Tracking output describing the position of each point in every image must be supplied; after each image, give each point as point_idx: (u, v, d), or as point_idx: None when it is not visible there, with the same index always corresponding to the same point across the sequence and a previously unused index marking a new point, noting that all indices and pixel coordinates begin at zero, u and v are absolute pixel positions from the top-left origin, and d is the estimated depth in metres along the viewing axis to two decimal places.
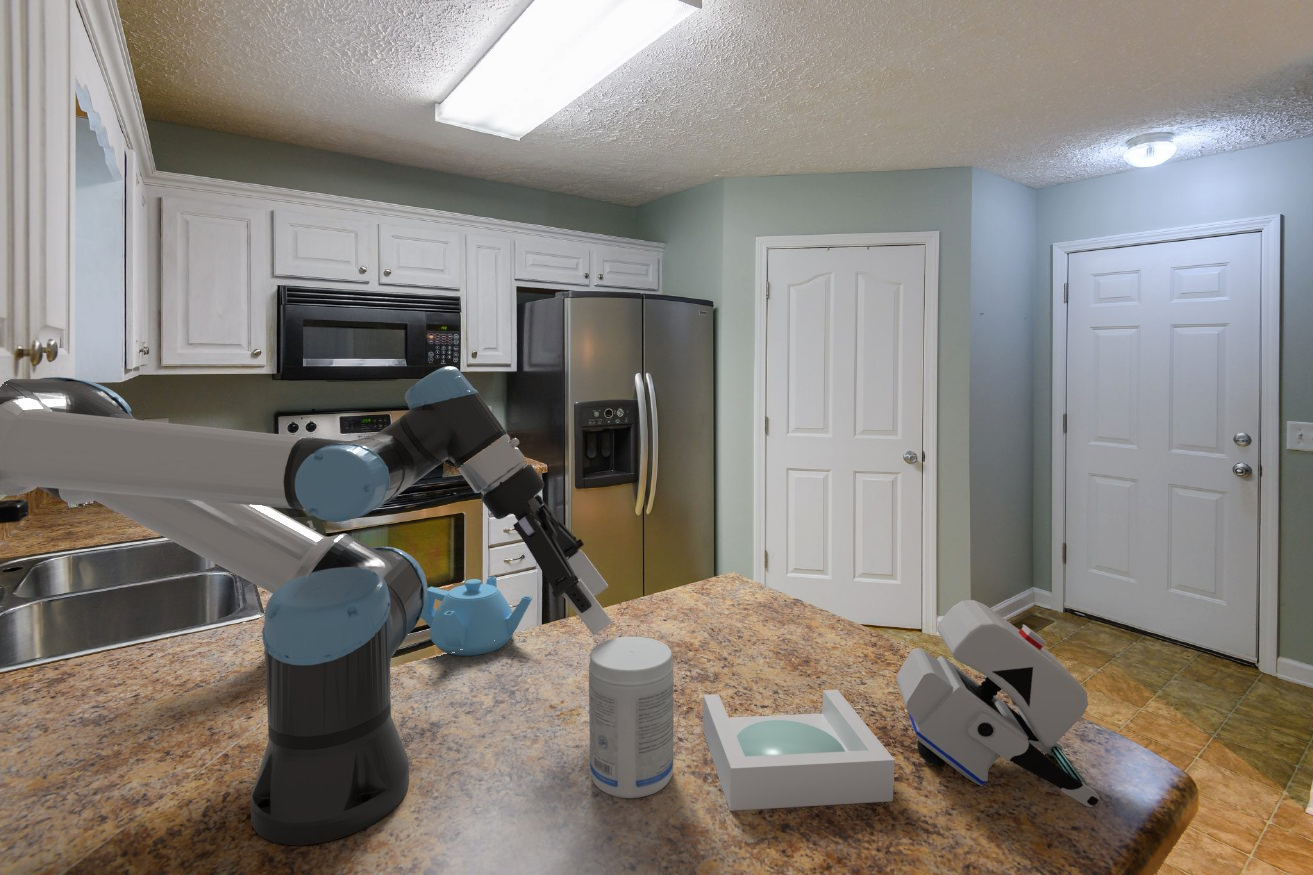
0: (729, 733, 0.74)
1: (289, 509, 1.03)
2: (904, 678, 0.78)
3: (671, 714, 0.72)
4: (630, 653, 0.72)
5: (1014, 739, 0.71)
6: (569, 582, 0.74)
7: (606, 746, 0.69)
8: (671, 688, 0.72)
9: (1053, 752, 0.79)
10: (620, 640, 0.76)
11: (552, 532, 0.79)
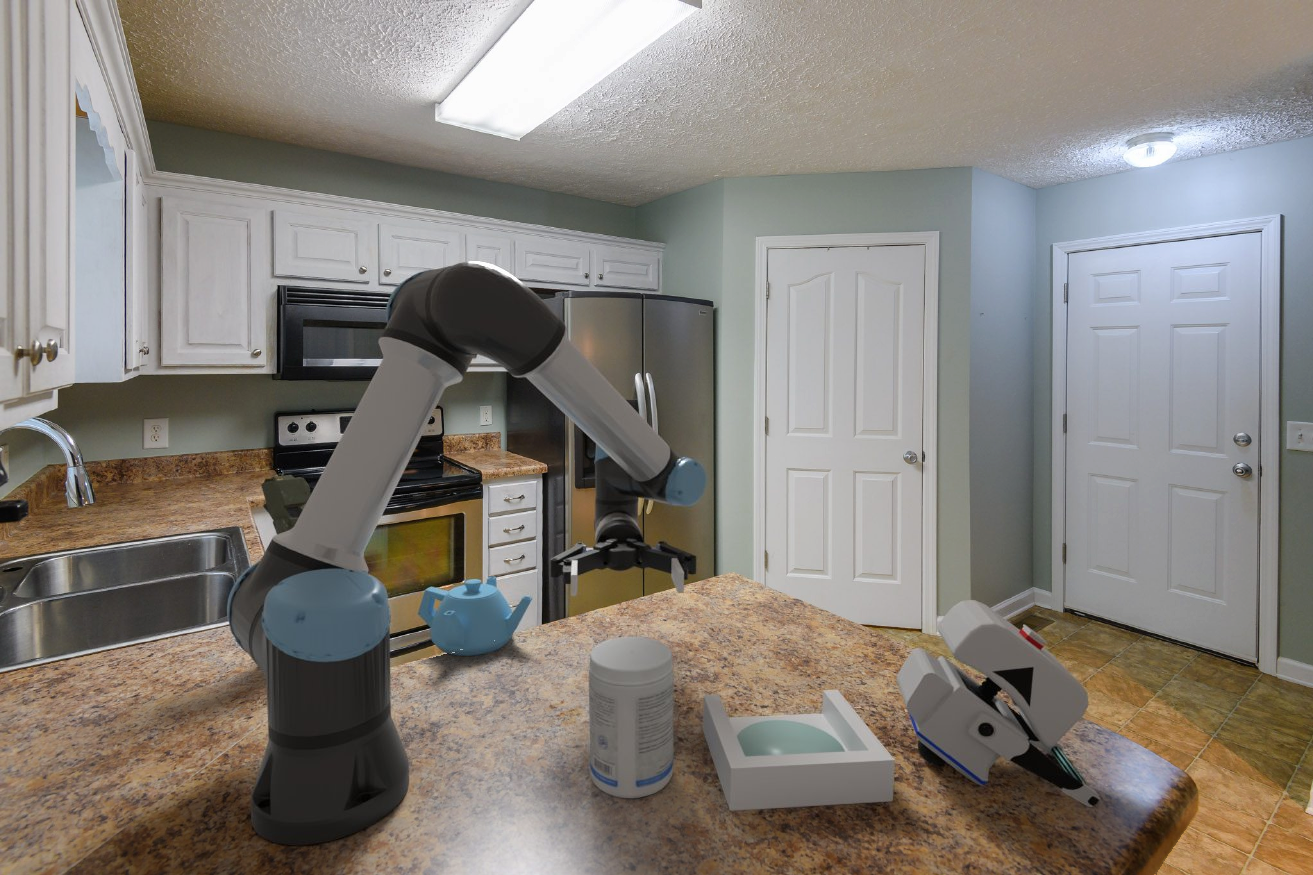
0: (729, 733, 0.74)
1: (289, 509, 1.03)
2: (904, 678, 0.78)
3: (671, 714, 0.72)
4: (630, 653, 0.72)
5: (1015, 739, 0.71)
6: None
7: (606, 746, 0.69)
8: (671, 688, 0.72)
9: (1053, 752, 0.79)
10: (619, 640, 0.76)
11: None
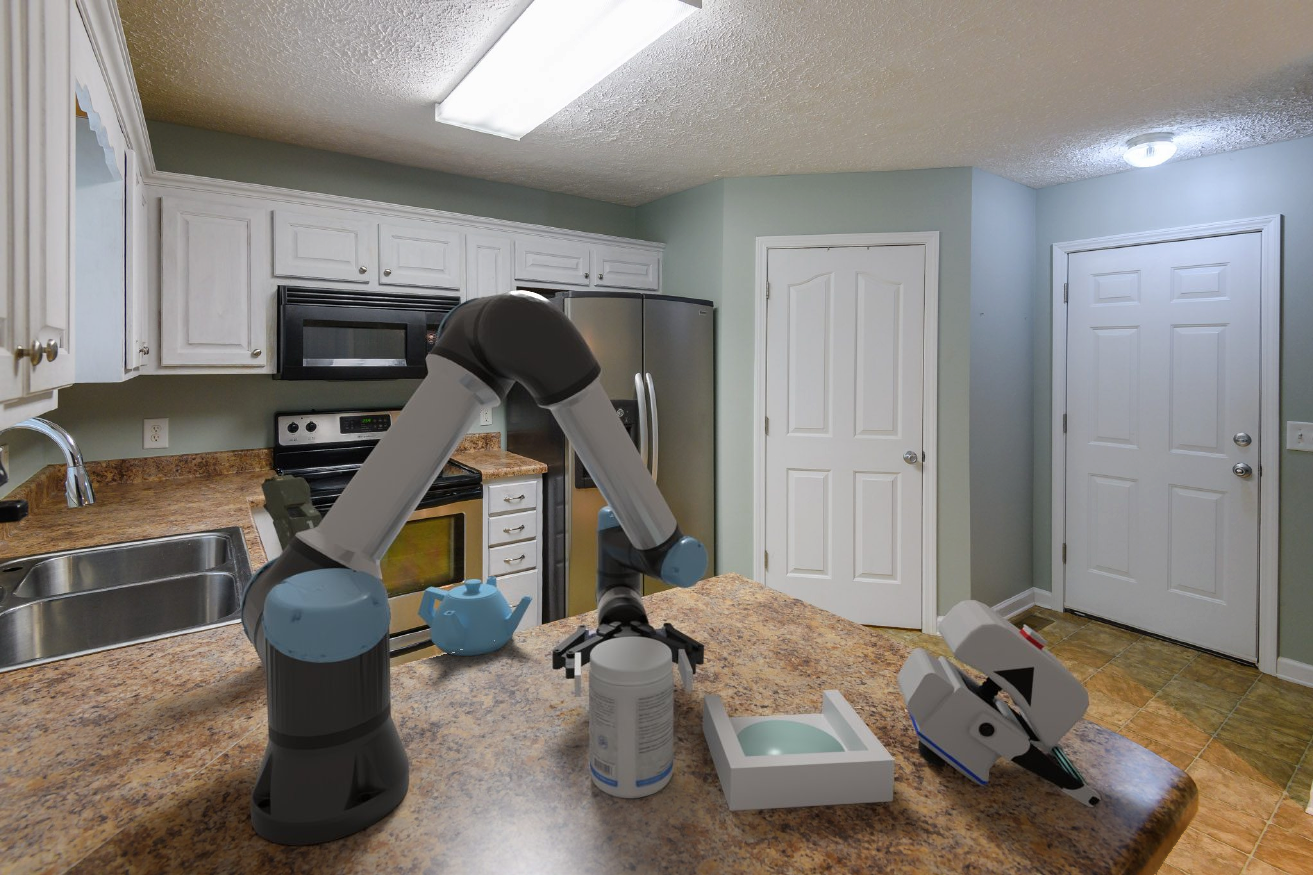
0: (729, 733, 0.74)
1: (289, 509, 1.03)
2: (905, 678, 0.78)
3: (671, 714, 0.72)
4: (630, 653, 0.72)
5: (1015, 739, 0.71)
6: (703, 659, 0.87)
7: (606, 746, 0.69)
8: (671, 688, 0.72)
9: (1054, 752, 0.79)
10: (619, 640, 0.76)
11: None
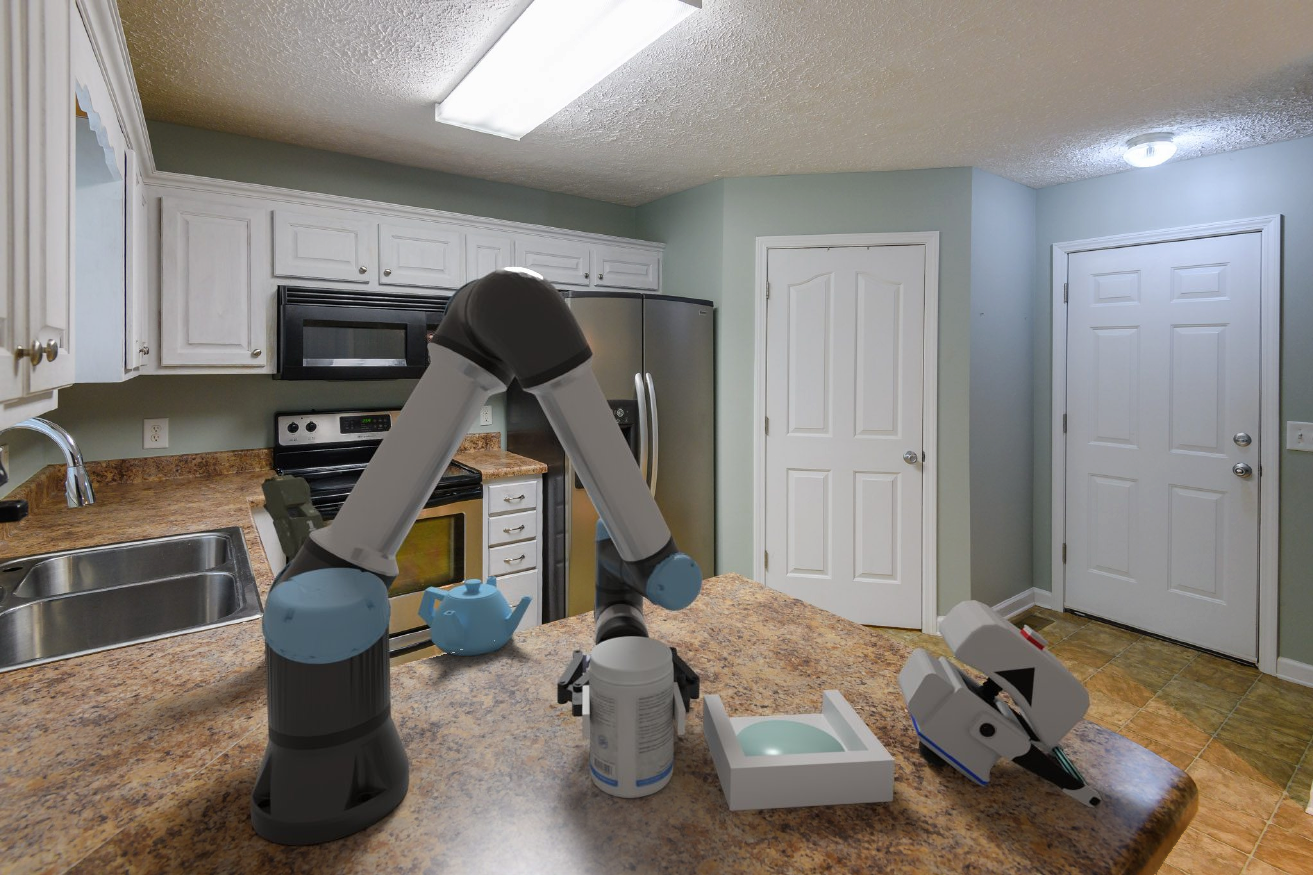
0: (729, 733, 0.74)
1: (289, 509, 1.03)
2: (905, 678, 0.78)
3: (671, 714, 0.72)
4: (630, 653, 0.72)
5: (1016, 739, 0.71)
6: None
7: (606, 746, 0.69)
8: (671, 688, 0.72)
9: (1054, 752, 0.79)
10: (620, 639, 0.76)
11: None
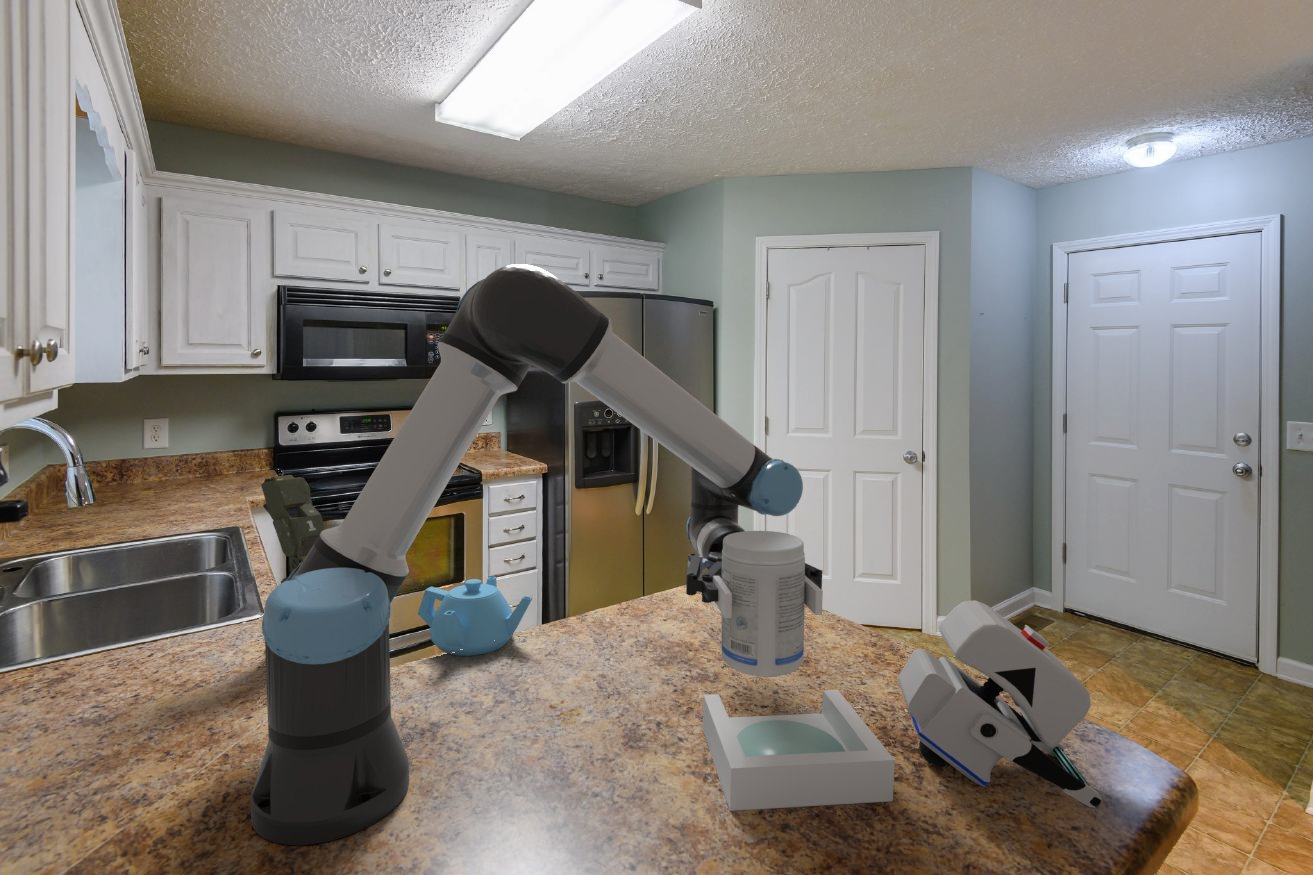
0: (729, 733, 0.74)
1: (289, 509, 1.03)
2: (906, 678, 0.78)
3: None
4: (763, 540, 0.74)
5: (1017, 740, 0.71)
6: (821, 587, 0.80)
7: (745, 626, 0.72)
8: (804, 573, 0.74)
9: (1055, 753, 0.79)
10: (746, 532, 0.78)
11: None
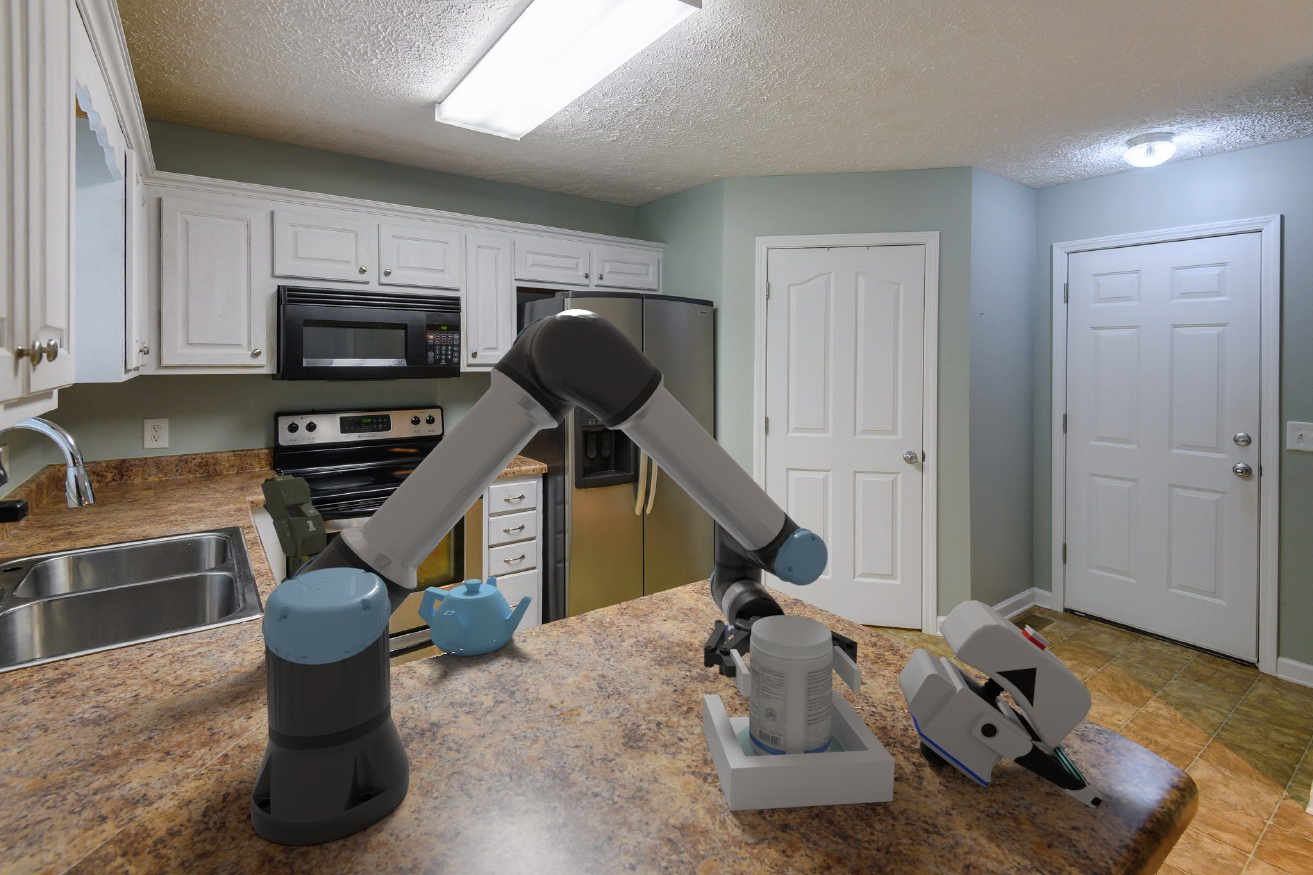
0: (729, 733, 0.74)
1: (289, 509, 1.03)
2: (907, 679, 0.78)
3: (831, 688, 0.75)
4: (791, 630, 0.75)
5: (1018, 740, 0.71)
6: None
7: (774, 718, 0.72)
8: (832, 663, 0.74)
9: (1056, 753, 0.79)
10: (773, 618, 0.79)
11: None
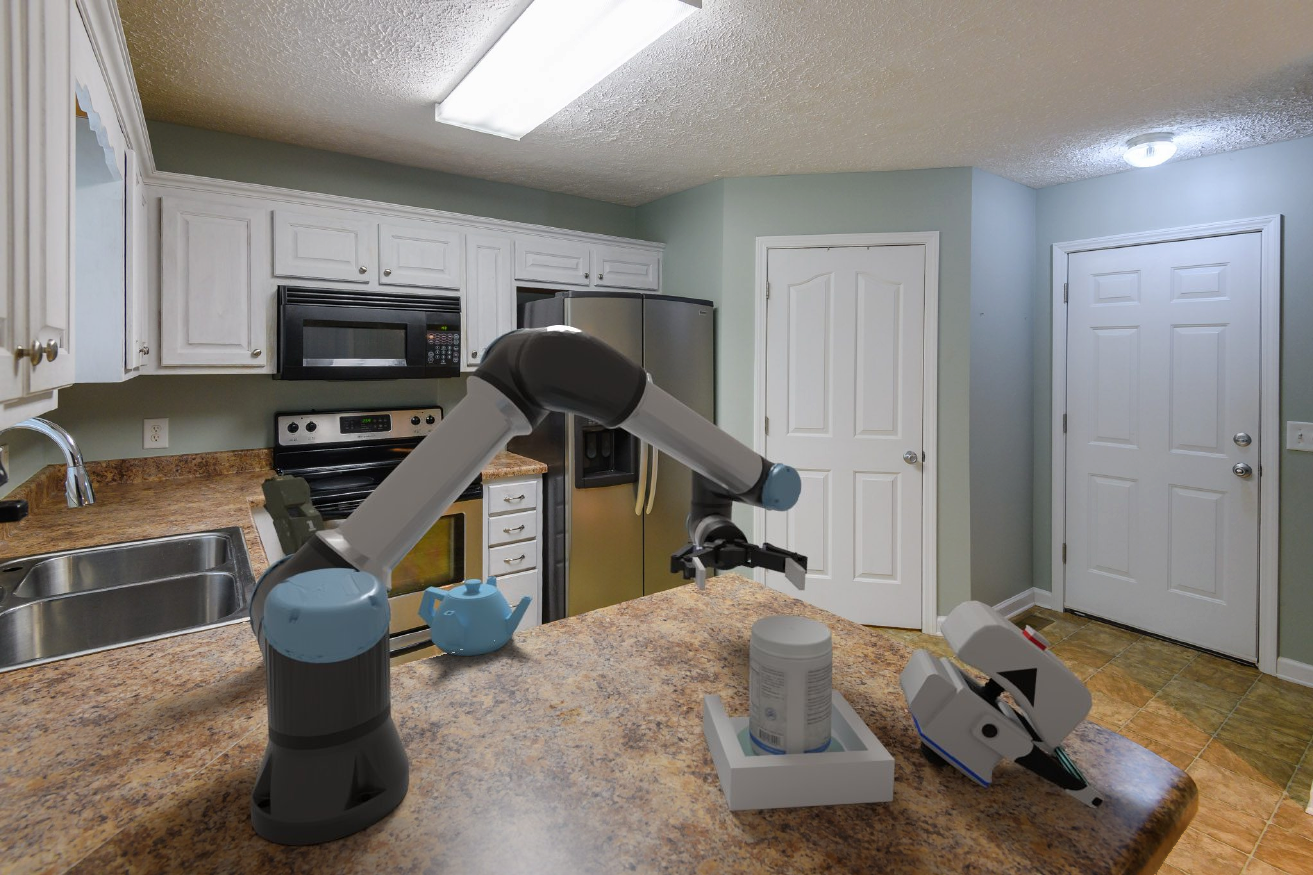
0: (729, 733, 0.74)
1: (289, 509, 1.03)
2: (907, 679, 0.78)
3: (831, 688, 0.75)
4: (791, 629, 0.75)
5: (1018, 740, 0.71)
6: None
7: (774, 717, 0.72)
8: None
9: (1056, 753, 0.79)
10: (773, 618, 0.79)
11: (757, 565, 0.99)
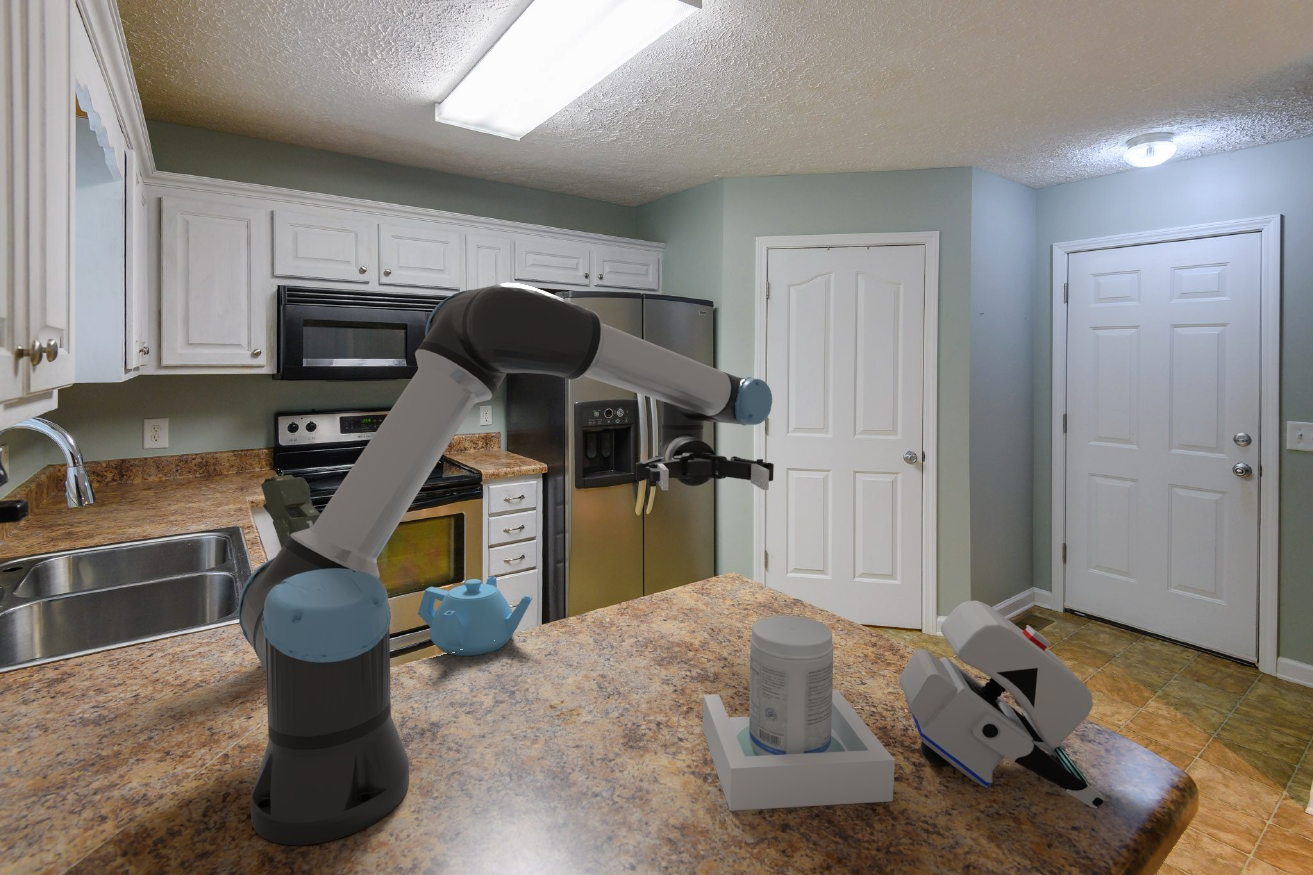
0: (729, 733, 0.74)
1: (289, 509, 1.03)
2: (907, 679, 0.78)
3: None
4: (792, 630, 0.75)
5: (1019, 740, 0.71)
6: None
7: (774, 718, 0.72)
8: (832, 663, 0.75)
9: (1057, 753, 0.78)
10: (774, 618, 0.79)
11: (724, 477, 0.99)
